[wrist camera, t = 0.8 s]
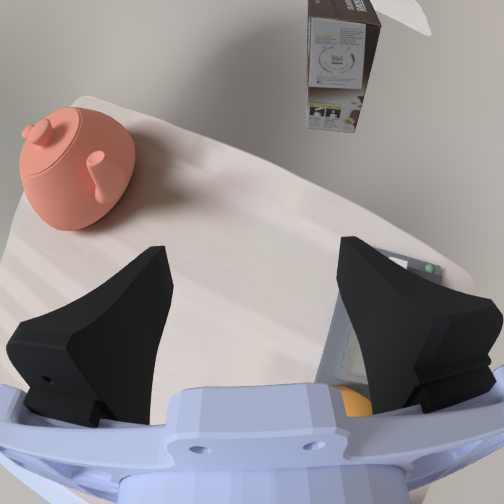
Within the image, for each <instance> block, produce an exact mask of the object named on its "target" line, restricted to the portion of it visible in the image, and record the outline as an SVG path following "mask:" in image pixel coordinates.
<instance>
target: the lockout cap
mask: <svg viewBox="0 0 504 504" xmlns="http://www.w3.org/2000/svg"><path fill="white" fill-rule="evenodd" d="M331 387H333V388H335V389H337V390H339V391H341V393H342V398H343V402H344V406H345V410H346V415H347V416H351V417H365V416H370V415H373V414H372V405H371V402H370V401H369V400H368V399H367V398H365V397H364V396H362V395H360V394H359V393H357V392H356V391H354V390H353V389H351V388H349V387H347V386H344V385H333V386H331Z"/></svg>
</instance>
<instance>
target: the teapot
mask: <svg viewBox="0 0 504 504" xmlns="http://www.w3.org/2000/svg"><path fill="white" fill-rule="evenodd" d="M22 136H23V137H24V138H25V139H26V142H25V144H24V146H23V148H22V151H21V155H20V161H19V166H20V175H21V179H22V183H23V187H24V190H25V193H26V196H27V199H28V201H29V202H30V204H31V206H32V208H33V209H34V211H35V212H36V213H37V214H38V215H39V217H40V218H41V219H42V220H43V221H44V222H46V223H47V224H48V225H50V226H51V227H53V228H55V229H57V230H62V231H73V230H78V229H81V228H84V227H86V226H89V225H91V224H92V223H94V222H96V221H97V220H99V219H100V218H102V217H103V216H104V215H106V214H107V213H108V212H109V211H110V210H111V209H112V208H113V207H114V206H115V204H116V203H117V202H118V201H119V199H120V198H121V196H122V195H123V193H124V192H125V190H126V188H127V186H128V184H129V182H130V179H131V176H132V174H133V170H134V166H135V160H136V152H135V145H134V142H133V139H132V137H131V135H130V134H129V133H128V131H127V130H126V129H125V128H124V127H123V126H122V125H121V124H120V123H119V122H117V121H116V120H114V119H113V118H112V117H110V116H108V115H106V114H103V113H101V112H98V111H94V110H89V109H84V108H78V107H66V108H62V109H59V110H57V111H55V112H53V113H51V114H50V115H48V116H47V117H46V118H45V119H43V120H41V121H39V122H38V123H37V124H36V125H35V126H34V125H32V124H30V125H28V126H27V127H26V128H25V129H24V131H23V133H22Z"/></svg>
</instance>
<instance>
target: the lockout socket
mask: <svg viewBox="0 0 504 504" xmlns="http://www.w3.org/2000/svg"><path fill="white" fill-rule="evenodd" d="M336 377H337V378H339V379H343V380H348V381H353V382H358V383H363V384H368V380H367V375H366V370H365V365H364V361H363V357H362V353H361V349H360V345H359V342H358V339H357V336H356V334H355V331H354V329H353V326H352V323H351V325H350V329H349V333H348V337H347V340H346V344H345V348H344V352H343V355H342V359H341V362H340V366H339V369H338V373H337V376H336Z"/></svg>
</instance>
